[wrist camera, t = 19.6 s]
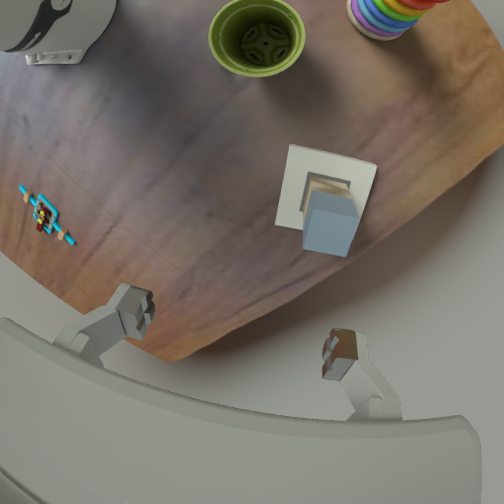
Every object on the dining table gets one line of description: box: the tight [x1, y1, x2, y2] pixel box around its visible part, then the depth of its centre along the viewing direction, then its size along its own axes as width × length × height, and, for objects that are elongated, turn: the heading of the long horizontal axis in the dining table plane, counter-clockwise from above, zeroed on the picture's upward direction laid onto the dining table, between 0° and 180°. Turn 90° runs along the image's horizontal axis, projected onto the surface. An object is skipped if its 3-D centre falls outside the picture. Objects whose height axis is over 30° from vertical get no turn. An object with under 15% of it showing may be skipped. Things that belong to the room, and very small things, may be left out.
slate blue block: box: [303, 190, 359, 257], centre depth 31 cm, size 5×5×5 cm
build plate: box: [275, 144, 377, 241], centre depth 37 cm, size 12×12×1 cm
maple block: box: [303, 176, 352, 224], centre depth 35 cm, size 5×5×5 cm
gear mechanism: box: [19, 184, 75, 245], centre depth 47 cm, size 20×5×9 cm
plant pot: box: [208, 0, 305, 77], centre depth 24 cm, size 9×9×9 cm
